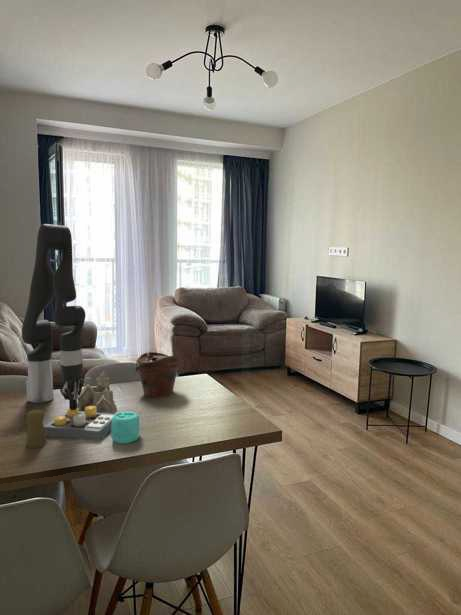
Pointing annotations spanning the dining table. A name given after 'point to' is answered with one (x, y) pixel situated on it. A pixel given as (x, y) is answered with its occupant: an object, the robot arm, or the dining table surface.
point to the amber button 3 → (91, 411)
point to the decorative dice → (125, 427)
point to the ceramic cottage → (97, 396)
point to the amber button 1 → (60, 421)
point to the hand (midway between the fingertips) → (73, 409)
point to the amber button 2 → (72, 412)
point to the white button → (79, 420)
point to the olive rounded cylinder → (35, 429)
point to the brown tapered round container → (157, 373)
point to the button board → (82, 427)
